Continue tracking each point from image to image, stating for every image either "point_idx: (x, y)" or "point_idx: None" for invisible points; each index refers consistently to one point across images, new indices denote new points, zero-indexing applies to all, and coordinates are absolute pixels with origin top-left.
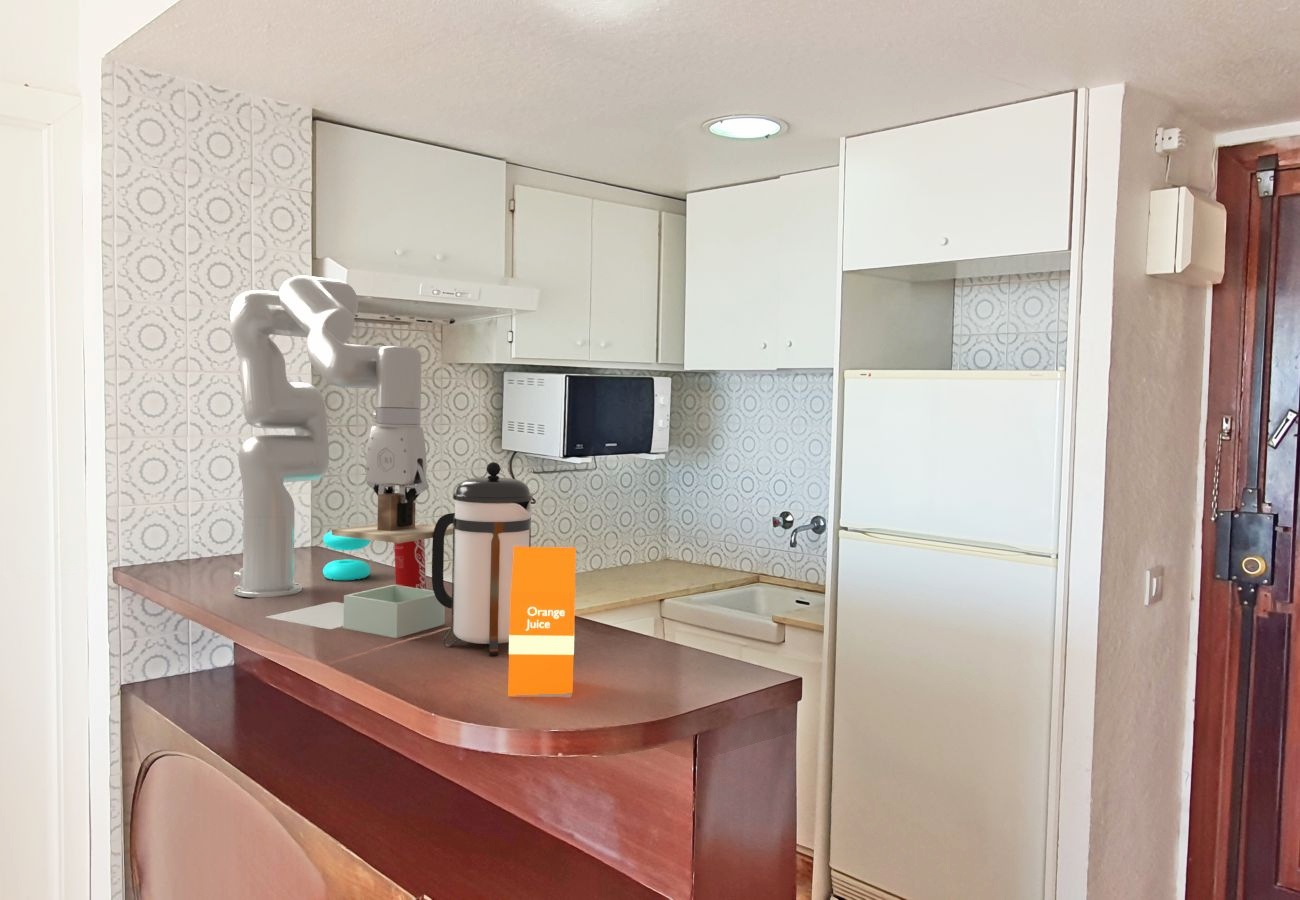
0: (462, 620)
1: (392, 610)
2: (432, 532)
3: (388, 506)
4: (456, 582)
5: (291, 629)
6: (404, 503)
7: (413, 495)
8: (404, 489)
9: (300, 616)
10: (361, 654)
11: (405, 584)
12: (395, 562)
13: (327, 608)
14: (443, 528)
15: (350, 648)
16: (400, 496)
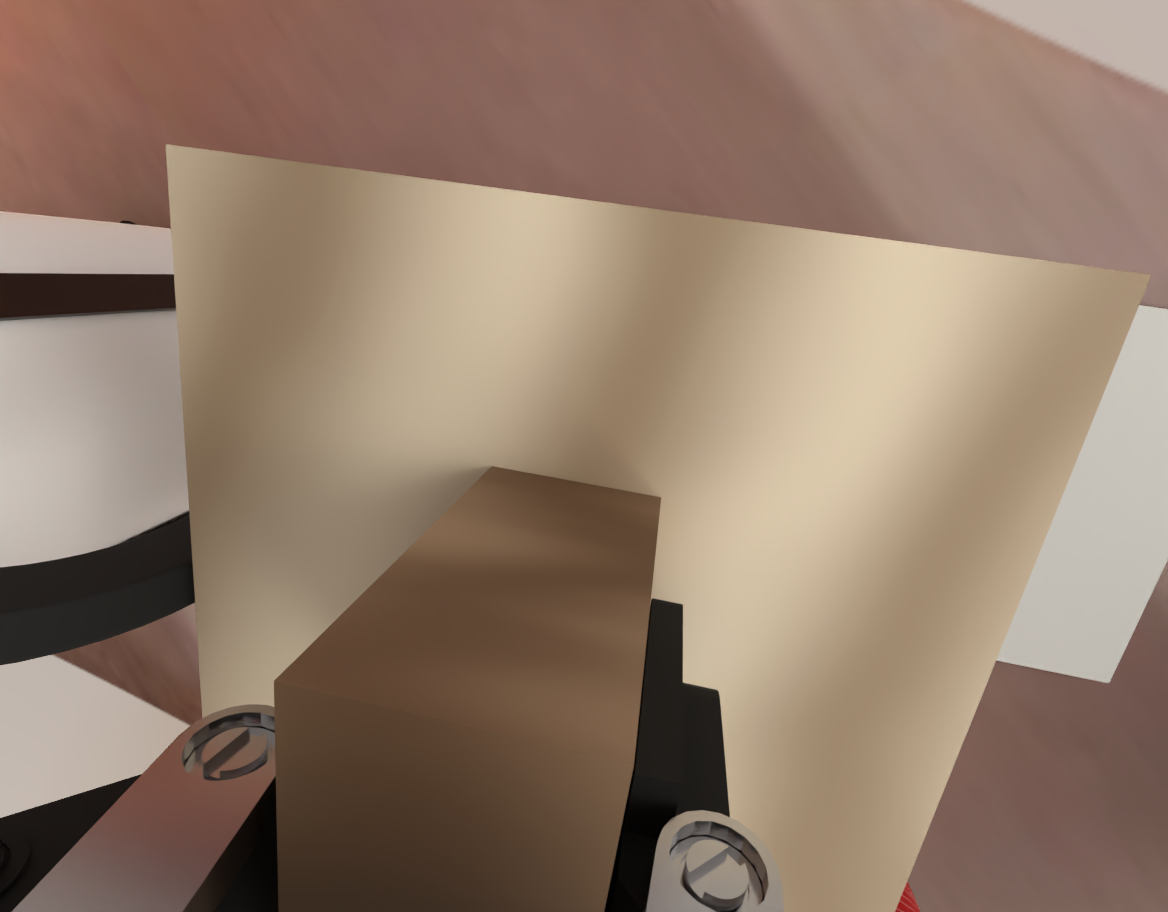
0: (157, 230)
1: None
2: (197, 577)
3: (430, 586)
4: (54, 245)
5: (1025, 222)
6: (253, 719)
7: (18, 830)
8: (21, 907)
9: (1103, 401)
10: (508, 18)
11: None
12: (907, 900)
13: (1064, 570)
14: (43, 564)
15: (600, 75)
16: (241, 803)
